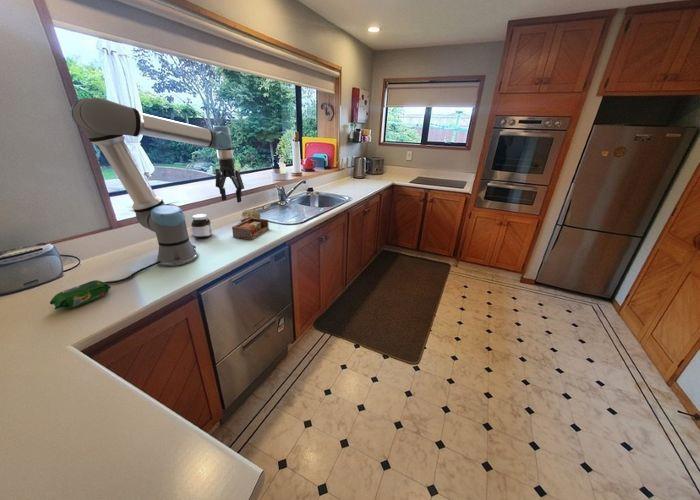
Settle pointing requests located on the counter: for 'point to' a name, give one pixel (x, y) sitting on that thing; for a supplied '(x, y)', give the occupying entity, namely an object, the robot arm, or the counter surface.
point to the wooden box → (250, 228)
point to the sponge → (250, 214)
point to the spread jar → (201, 226)
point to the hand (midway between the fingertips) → (231, 201)
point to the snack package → (80, 294)
